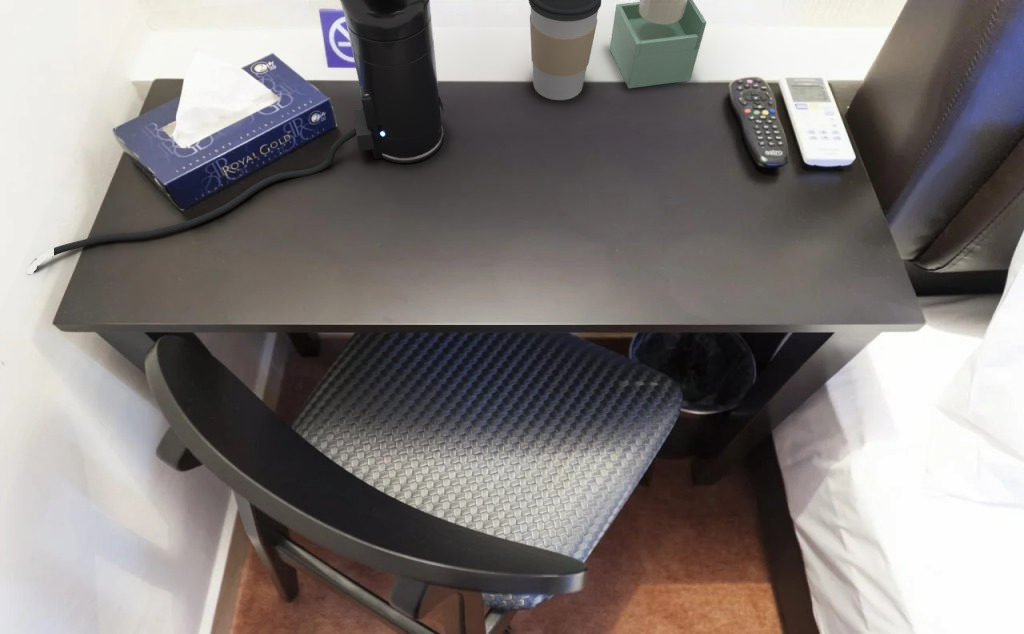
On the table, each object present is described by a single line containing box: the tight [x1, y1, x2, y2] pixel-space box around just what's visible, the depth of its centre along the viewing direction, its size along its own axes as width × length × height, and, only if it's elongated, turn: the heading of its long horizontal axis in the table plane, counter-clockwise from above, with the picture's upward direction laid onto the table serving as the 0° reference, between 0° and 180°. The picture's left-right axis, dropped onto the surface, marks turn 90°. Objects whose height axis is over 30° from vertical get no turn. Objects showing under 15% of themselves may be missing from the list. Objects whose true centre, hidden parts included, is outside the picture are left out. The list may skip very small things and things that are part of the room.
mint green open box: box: [609, 0, 707, 89], centre depth 92 cm, size 9×9×9 cm
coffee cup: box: [528, 0, 602, 101], centre depth 87 cm, size 9×9×15 cm
